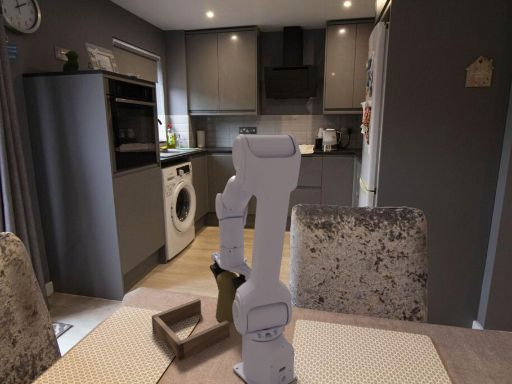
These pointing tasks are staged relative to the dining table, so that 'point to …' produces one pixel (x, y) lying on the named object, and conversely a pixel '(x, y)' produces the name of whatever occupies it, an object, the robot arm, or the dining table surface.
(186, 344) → the open u-shaped frame
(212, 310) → the dining table surface
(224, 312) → the olive pawn shape
